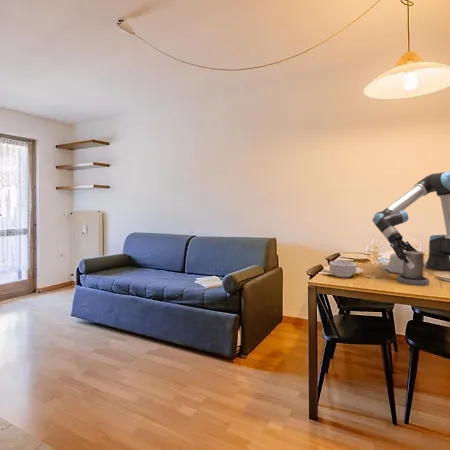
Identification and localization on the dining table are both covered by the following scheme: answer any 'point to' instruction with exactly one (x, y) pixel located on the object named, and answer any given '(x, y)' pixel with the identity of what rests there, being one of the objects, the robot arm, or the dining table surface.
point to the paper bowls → (342, 268)
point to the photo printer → (396, 264)
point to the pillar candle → (417, 260)
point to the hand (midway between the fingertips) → (418, 267)
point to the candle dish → (413, 280)
